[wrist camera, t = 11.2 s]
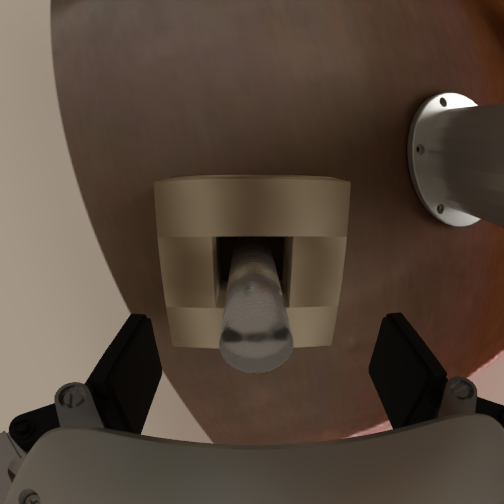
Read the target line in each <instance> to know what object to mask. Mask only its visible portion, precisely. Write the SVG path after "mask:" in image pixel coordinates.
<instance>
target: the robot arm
mask: <svg viewBox="0 0 504 504" xmlns="http://www.w3.org/2000/svg"><path fill="white" fill-rule="evenodd" d="M416 149H417V150H416ZM407 154H408V166H409V171H410V175H411V180H412V183H413V185H414V188H415V191H416V193H417V195H418V197H419V199H420V201H421V203H422V204H423V205H424V207H425V208H426V209H427V211H428V212H429V213H430V214H431V215H433V216H434V217H435V218H436V219H438V220H439V221H441V222H443V223H445V224H448V225H451V226H454V227H465V226H469V225H472V224H473V223H475V222H477V221H478V220H480V219H482V220H485V221H487V222H490V223H492V224H495V225H497V226H500V227H502V228H504V104H491V105H481V106H478V105H477V104H476V103H474V102H473V101H472V100H471V99H469V98H467V97H466V96H464V95H462V94H458V93H455V92H444V93H440V94H436V95H434V96H432V97H430V98H428V99H427V100H426V101H425V102H423V103H422V104H421V105H420V107H419V108H418V110H417V111H416V113H415V115H414V118H413V120H412V123H411V125H410V130H409V135H408V147H407ZM369 374H370V377H371V379H372V381H373V383H374V386H375V388H376V390H377V392H378V395H379V397H380V399H381V402H382V404H383V406H384V409H385V411H386V413H387V416H388V418H389V421H390V423H391V425H392V428H393V430H388V431H384V432H379V433H374V434H369V435H363V436H358V437H352V438H345V439H338V440H330V441H321V442H312V443H299V444H282V445H229V444H211V443H197V442H189V441H180V440H171V439H165V438H157V437H151V436H145V435H141V432H142V429H143V426H144V423H145V421H146V418H147V415H148V412H149V409H150V406H151V403H152V401H153V398H154V395H155V392H156V390H157V387H158V384H159V381H160V379H161V376H162V366H161V362H160V358H159V354H158V350H157V346H156V341H155V337H154V332H153V327H152V323H151V320H150V318H147V316H146V315H145V314H131V315H130V316H129V318H128V319H127V321H126V322H125V324H124V325H123V326H122V328H121V329H120V331H119V333H118V334H117V336H116V337H115V339H114V340H113V341H112V343H111V344H110V345H109V347H108V348H107V350H106V351H105V353H104V354H103V356H102V358H101V359H100V360H99V362H98V364H97V365H96V367H95V368H94V370H93V372H92V373H91V375H90V377H89V378H88V380H87V381H86V383H85V384H82V383H78V382H73V383H68V384H65V385H64V386H62V387H61V388H59V390H58V391H57V392H56V395H55V403H53V404H51V405H48V406H45V407H42V408H39V409H36V410H33V411H30V412H27V413H24V414H21V415H19V416H17V417H15V418H14V419H13V420H12V422H11V423H10V426H9V432H8V433H6V432H5V431H3V432H2V433H0V504H504V406H503V405H500V404H497V403H494V402H491V401H488V400H485V399H482V398H479V397H477V389H476V387H475V385H474V384H473V382H471V381H470V380H469V379H467V378H464V377H460V376H457V377H452V378H450V379H449V380H448V379H447V378H446V375H447V372H446V371H445V370H444V368H443V367H442V365H441V364H440V363H439V361H438V360H437V359H436V357H435V356H434V354H433V353H432V352H431V350H430V349H429V348H428V346H427V345H426V344H425V342H424V341H423V340H422V339H421V337H420V336H419V335H418V333H417V332H416V331H415V329H414V328H413V327H412V326H411V324H410V323H409V322H408V321H407V319H406V318H405V317H404V316H403V314H402V313H389V314H387V315H386V317H384V318H383V320H382V323H381V327H380V330H379V334H378V338H377V341H376V345H375V348H374V351H373V355H372V358H371V361H370V364H369Z"/></svg>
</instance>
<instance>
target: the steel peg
mask: <svg viewBox="0 0 504 504" xmlns="http://www.w3.org/2000/svg"><path fill="white" fill-rule="evenodd" d="M219 349H220V353H221V355H222V357H223V359H224V360H225V361H226V362H227V363H228V364H229V365H230V366H232V367H233V368H235V369H237V370H239V371H242V372H246V373H265V372H269V371H272V370H274V369H276V368H278V367H280V366H281V365H282V364H284V363H285V362H286V361H287V360H288V358H289V357H290V355H291V353H292V350H293V337H292V333H291V328H290V324H289V320H288V316H287V311H286V307H285V303H284V299H283V295H282V291H281V286H280V282H279V278H278V274H277V270H276V266H275V262H274V258H273V254H272V250H271V246H270V244H269V242H268V240H267V239H266V238H265V237H263V236H241V237H240V238H239V239H238V240H237V241H236V242H235V244H234V248H233V254H232V260H231V266H230V273H229V280H228V286H227V293H226V300H225V306H224V313H223V320H222V327H221V334H220V341H219Z"/></svg>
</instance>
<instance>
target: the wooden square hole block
mask: <svg viewBox="0 0 504 504" xmlns="http://www.w3.org/2000/svg"><path fill="white" fill-rule="evenodd" d="M350 189H351V182H349V181H345V180H341V179H338V178H334V177H326V176H305V175H262V174H240V175H197V176H176V177H169V178H166V179H162V180H158V181H155V182H154V199H155V214H156V227H157V238H158V248H159V257H160V266H161V274H162V282H163V290H164V297H165V303H166V310H167V316H168V322H169V328H170V334H171V339H172V345H173V346H175V347H194V348H219V341H220V334H221V327H222V320H223V313H224V306H225V300H226V293H227V286H228V281H221V267H220V240H219V236H284V248H283V272H282V280H279V282H280V286H281V291H282V295H283V299H284V303H285V307H286V311H287V316H288V320H289V324H290V328H291V333H292V337H293V348H294V347H313V346H328V345H332V339H333V334H334V328H335V323H336V317H337V310H338V304H339V297H340V291H341V283H342V276H343V268H344V260H345V251H346V241H347V230H348V219H349V205H350Z"/></svg>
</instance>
